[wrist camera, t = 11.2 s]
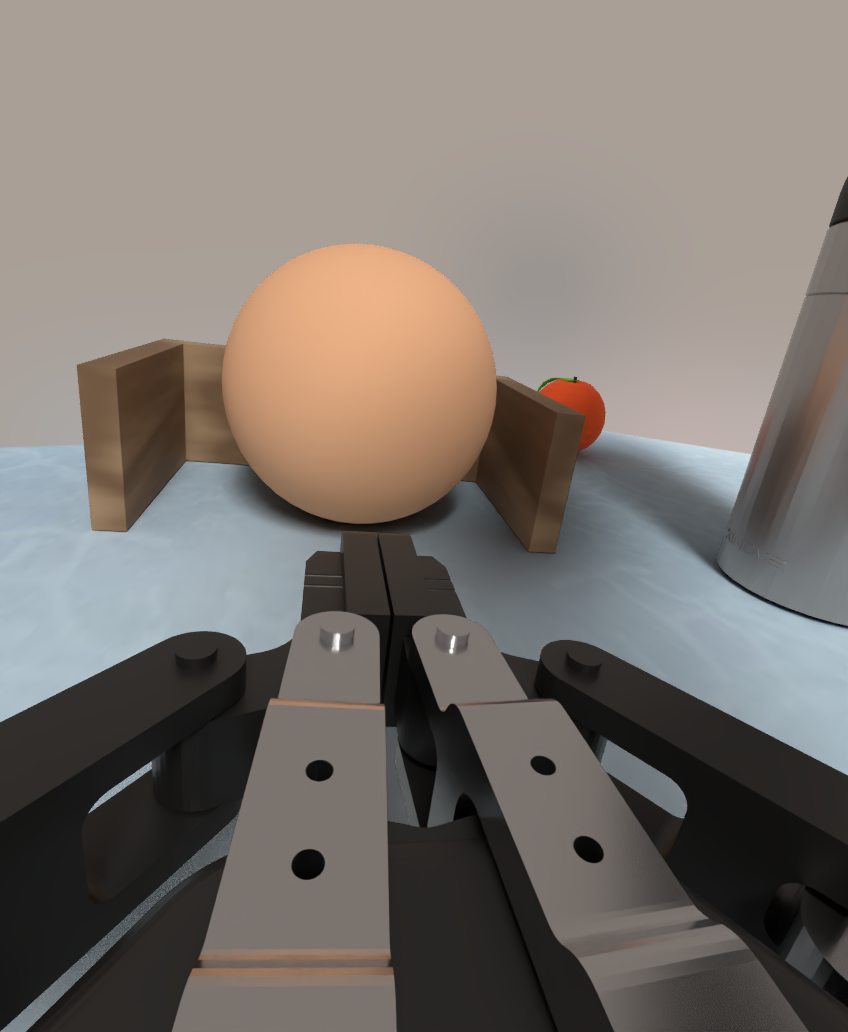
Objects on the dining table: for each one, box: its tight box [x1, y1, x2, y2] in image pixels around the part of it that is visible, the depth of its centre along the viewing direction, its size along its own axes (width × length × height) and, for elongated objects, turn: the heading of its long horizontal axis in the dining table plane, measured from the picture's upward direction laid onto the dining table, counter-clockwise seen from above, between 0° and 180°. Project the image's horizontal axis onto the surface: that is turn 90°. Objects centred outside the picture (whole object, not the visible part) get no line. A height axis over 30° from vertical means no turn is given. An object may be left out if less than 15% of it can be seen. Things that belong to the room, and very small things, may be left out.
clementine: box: [537, 377, 605, 451], centre depth 53 cm, size 8×7×7 cm
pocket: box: [77, 339, 586, 553], centre depth 33 cm, size 23×14×8 cm, turn 99°
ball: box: [222, 244, 497, 524], centre depth 30 cm, size 14×14×14 cm
